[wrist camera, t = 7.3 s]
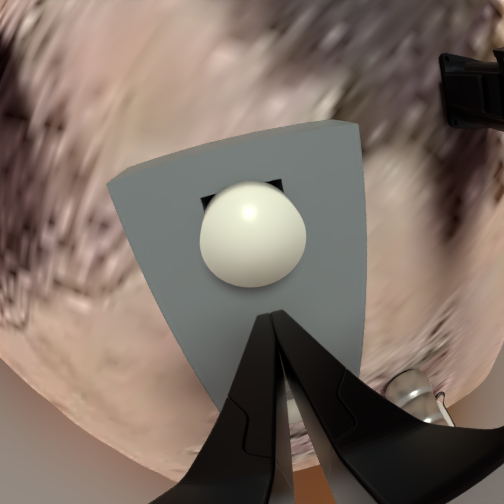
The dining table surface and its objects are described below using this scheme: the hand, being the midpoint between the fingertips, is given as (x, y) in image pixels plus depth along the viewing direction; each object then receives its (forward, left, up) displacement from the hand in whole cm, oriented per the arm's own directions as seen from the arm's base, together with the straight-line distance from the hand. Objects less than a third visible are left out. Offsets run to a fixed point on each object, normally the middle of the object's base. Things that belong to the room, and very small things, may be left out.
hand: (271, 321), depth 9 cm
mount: (0, +8, -12) cm, 15 cm away
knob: (0, 0, -12) cm, 12 cm away
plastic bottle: (-16, +30, -12) cm, 36 cm away
